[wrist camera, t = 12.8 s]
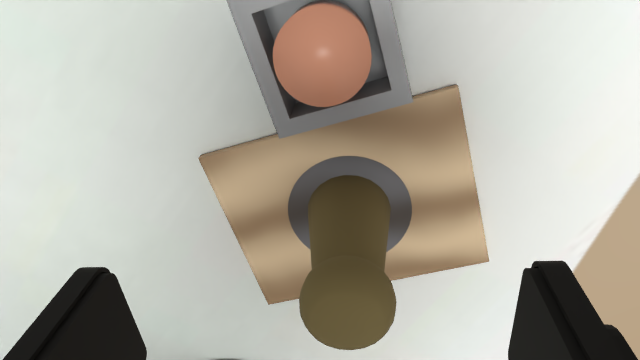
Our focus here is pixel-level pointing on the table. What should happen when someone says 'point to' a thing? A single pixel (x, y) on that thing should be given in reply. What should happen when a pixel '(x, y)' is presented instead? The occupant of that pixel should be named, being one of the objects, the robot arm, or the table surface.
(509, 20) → the table surface
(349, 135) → the wooden board
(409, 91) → the button housing
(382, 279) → the pepper shaker
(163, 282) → the table surface
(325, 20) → the button
